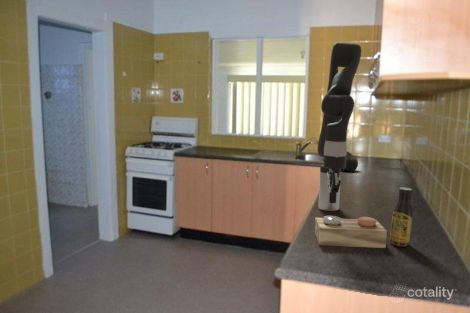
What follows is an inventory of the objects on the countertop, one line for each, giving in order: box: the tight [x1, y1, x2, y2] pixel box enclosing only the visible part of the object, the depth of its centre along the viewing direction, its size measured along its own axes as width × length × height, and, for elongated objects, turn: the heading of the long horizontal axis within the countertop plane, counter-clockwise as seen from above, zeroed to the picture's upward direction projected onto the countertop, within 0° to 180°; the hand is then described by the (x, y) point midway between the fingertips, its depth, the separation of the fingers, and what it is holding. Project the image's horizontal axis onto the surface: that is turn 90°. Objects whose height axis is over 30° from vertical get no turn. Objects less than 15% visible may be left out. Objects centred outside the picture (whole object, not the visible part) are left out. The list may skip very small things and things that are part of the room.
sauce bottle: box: [389, 186, 414, 248], centre depth 127 cm, size 7×6×20 cm
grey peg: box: [322, 215, 342, 226], centre depth 131 cm, size 6×6×8 cm
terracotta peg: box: [357, 216, 377, 227], centre depth 130 cm, size 6×6×8 cm
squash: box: [341, 151, 359, 173], centre depth 274 cm, size 14×15×15 cm
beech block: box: [314, 217, 388, 249], centre depth 131 cm, size 12×22×6 cm, turn 86°
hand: (332, 202), depth 130 cm, fingers closed
